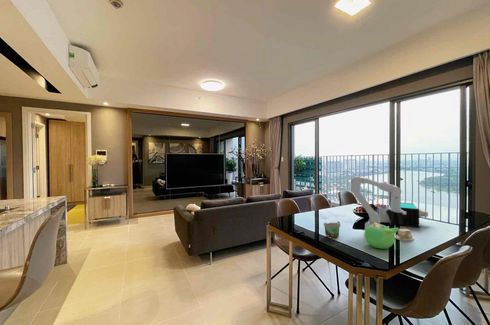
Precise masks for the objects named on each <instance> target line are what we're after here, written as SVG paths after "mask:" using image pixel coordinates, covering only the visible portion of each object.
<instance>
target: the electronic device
mask: <svg viewBox="0 0 490 325" xmlns="http://www.w3.org/2000/svg"><path fill="white" fill-rule="evenodd" d="M389 207H390V208H391V201H389ZM401 209H402V210H403V211H406V217H405V218H404V220H403V223H402V224H399V219H398V215H397V214H400V213H397V212H394V215H393V221H391V222H390V223H391V225H394V226H403V227H411V228H420V218H422V217H423V218H427V217H429V213H428V211H425V210H421V209H419V208H418V207H417V206H416V205H415V203H412V202H411V203H410V202H401Z"/></svg>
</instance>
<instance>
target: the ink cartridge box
mask: <svg viewBox="0 0 490 325" xmlns="http://www.w3.org/2000/svg"><path fill="white" fill-rule="evenodd" d="M386 207H387V205H386V204H380V207H379V206H376V212H377V213H378V215H379V216H380V218H381V219H380V223H391V221H390V220H389V217H388V214H387V213H386V211H387V210H386Z"/></svg>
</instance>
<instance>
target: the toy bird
mask: <svg viewBox="0 0 490 325" xmlns="http://www.w3.org/2000/svg"><path fill="white" fill-rule="evenodd" d="M399 229H400V228H399V227H392V228H390V227H388V226H386V225H384V224H381V223H380V224H378V223H376V222H374V224H373V225H370V226H368V227H367V229H366V230H365V229H364V239H365V241H366V243H367V244H369V245H370V247H371V246H372V247H373V248H376V249H381V250H385V249H389V248H391V247H392V246H393V245H394V243H395V240H396V238H395V236H396V233H398V230H399Z"/></svg>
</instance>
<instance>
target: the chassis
mask: <svg viewBox="0 0 490 325" xmlns="http://www.w3.org/2000/svg"><path fill="white" fill-rule="evenodd" d="M395 240H397V241H398V240H399V241H401V242H405V241H406V242H407V241H415V237H413V234H411V238H406V239H403V238H401V236H399V237H398V234H395Z"/></svg>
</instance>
